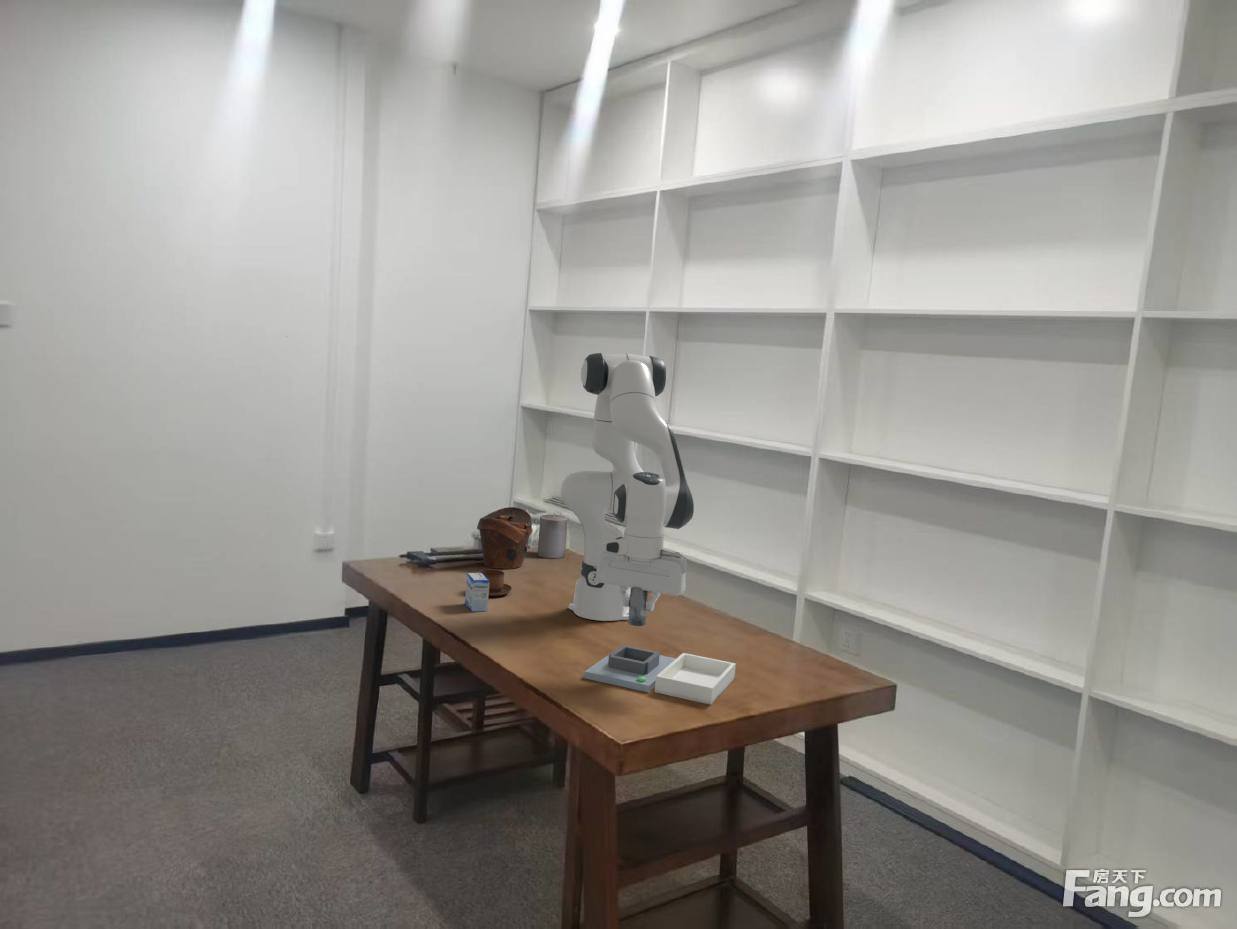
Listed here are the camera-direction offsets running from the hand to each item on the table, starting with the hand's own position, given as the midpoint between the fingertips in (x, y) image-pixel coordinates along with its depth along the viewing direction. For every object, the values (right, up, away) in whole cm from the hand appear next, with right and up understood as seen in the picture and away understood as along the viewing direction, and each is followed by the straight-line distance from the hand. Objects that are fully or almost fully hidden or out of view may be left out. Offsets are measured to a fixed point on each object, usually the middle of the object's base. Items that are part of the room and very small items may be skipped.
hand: (638, 608), depth 196 cm
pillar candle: (-28, 0, +112) cm, 115 cm away
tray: (+12, -16, -4) cm, 21 cm away
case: (-42, -1, +93) cm, 102 cm away
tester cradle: (-1, -14, +2) cm, 15 cm away
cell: (0, -3, 0) cm, 3 cm away
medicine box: (-43, -7, +43) cm, 61 cm away
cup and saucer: (-41, -5, +58) cm, 71 cm away
